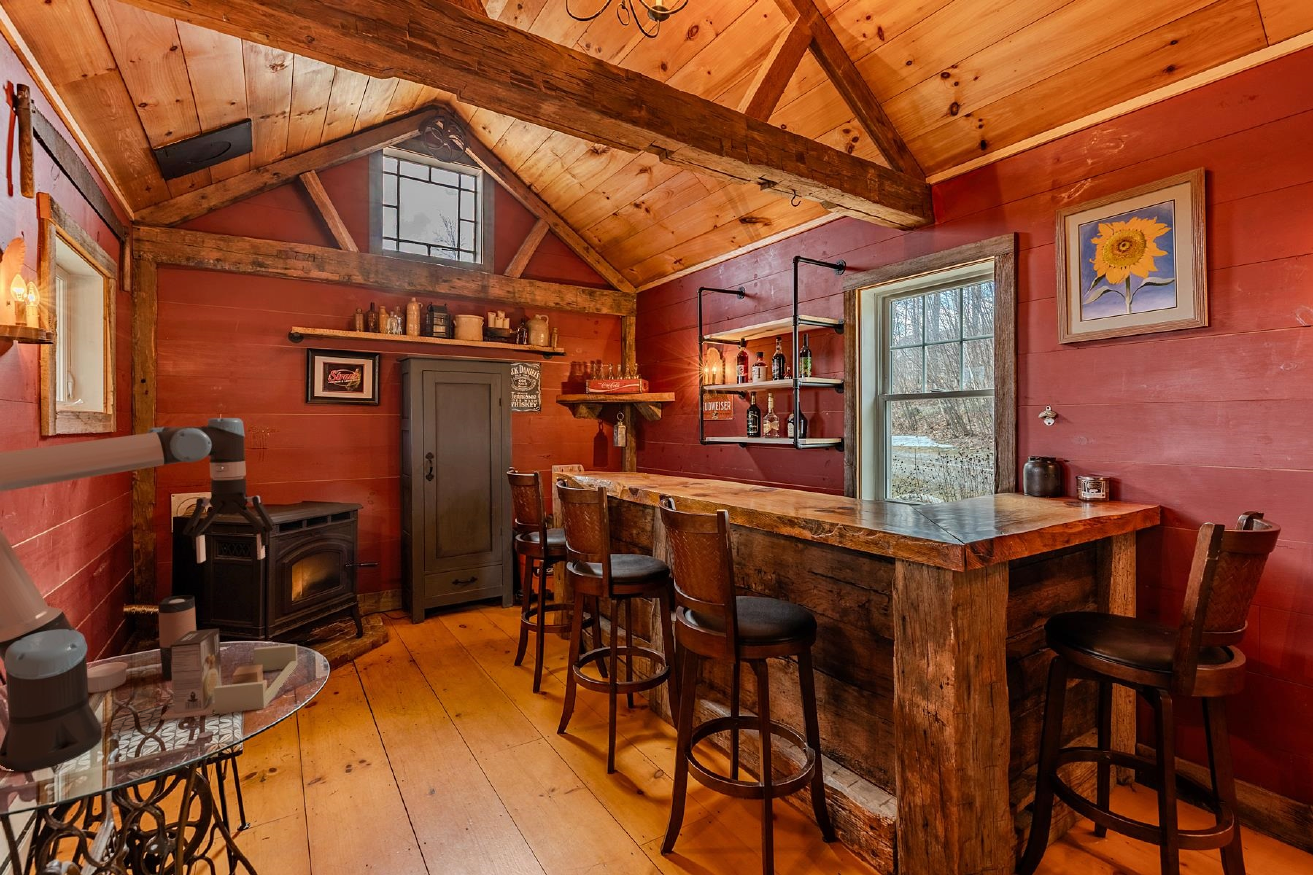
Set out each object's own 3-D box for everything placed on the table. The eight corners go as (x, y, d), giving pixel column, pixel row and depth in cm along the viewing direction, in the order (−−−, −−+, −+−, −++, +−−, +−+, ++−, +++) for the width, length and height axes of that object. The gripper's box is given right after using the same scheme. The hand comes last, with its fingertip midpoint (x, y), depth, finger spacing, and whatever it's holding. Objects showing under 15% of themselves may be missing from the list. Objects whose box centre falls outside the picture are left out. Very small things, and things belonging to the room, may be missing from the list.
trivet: (161, 719, 138) (161, 716, 138) (184, 698, 148) (183, 695, 148) (212, 714, 140) (212, 710, 140) (231, 694, 150) (231, 690, 150)
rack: (214, 713, 140) (213, 688, 140) (256, 669, 164) (255, 647, 163) (263, 708, 143) (262, 683, 142) (297, 665, 166) (296, 644, 166)
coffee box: (192, 695, 148) (190, 629, 147) (223, 692, 149) (220, 627, 148) (172, 713, 139) (169, 644, 138) (204, 710, 140) (201, 641, 139)
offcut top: (233, 691, 143) (232, 675, 143) (238, 683, 147) (238, 667, 147) (257, 688, 145) (257, 671, 145) (263, 680, 149) (262, 664, 149)
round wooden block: (131, 685, 155) (130, 668, 155) (83, 697, 148) (82, 680, 148) (124, 675, 161) (124, 659, 161) (78, 687, 154) (77, 670, 154)
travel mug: (203, 672, 162) (200, 597, 161) (168, 683, 156) (164, 606, 155) (190, 665, 166) (187, 593, 165) (156, 676, 160) (152, 600, 159)
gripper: (163, 481, 150) (167, 566, 152) (277, 478, 156) (280, 560, 158) (179, 477, 158) (183, 559, 159) (287, 475, 164) (290, 553, 165)
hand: (231, 560), depth 158 cm, fingers open, 13 cm apart
